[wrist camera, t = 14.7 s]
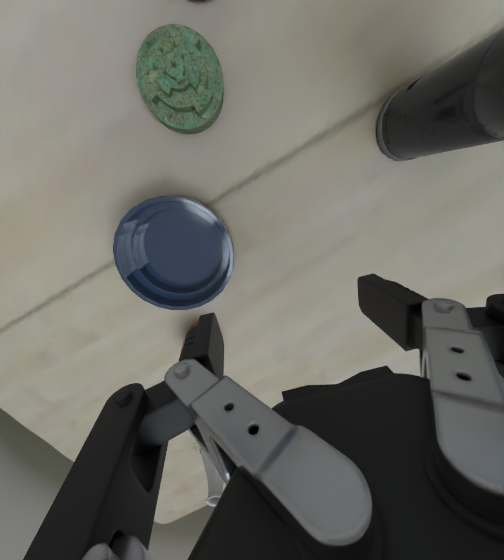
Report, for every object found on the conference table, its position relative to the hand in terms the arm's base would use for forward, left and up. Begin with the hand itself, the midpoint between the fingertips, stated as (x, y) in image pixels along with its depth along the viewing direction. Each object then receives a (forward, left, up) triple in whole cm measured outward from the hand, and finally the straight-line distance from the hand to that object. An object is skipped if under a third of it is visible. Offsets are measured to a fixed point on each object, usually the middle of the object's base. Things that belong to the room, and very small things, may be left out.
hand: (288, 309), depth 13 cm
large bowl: (+11, 0, -26) cm, 28 cm away
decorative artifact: (+4, -20, -26) cm, 33 cm away
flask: (+18, +46, -26) cm, 56 cm away
